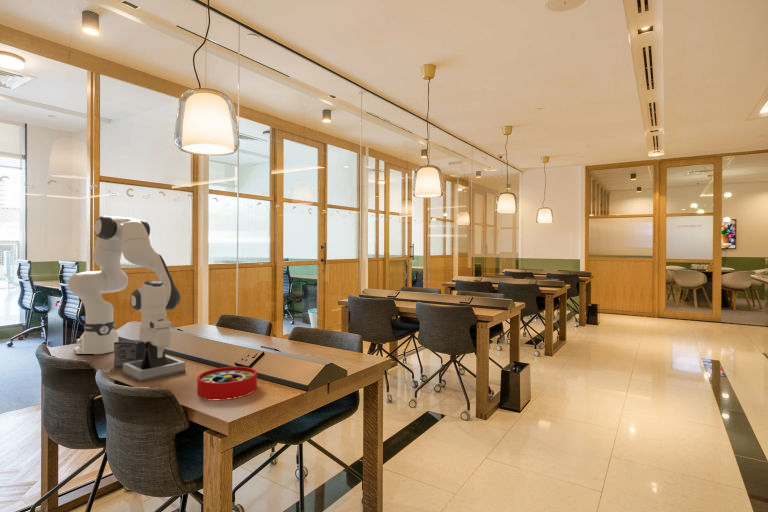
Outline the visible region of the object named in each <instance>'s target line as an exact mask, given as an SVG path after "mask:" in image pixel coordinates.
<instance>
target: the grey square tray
mask: <svg viewBox="0 0 768 512" xmlns="http://www.w3.org/2000/svg"><path fill="white" fill-rule="evenodd" d="M165 358H166V362H167V365H164V366H160V367H155V368H150V369H145V370H142V369H141V365H142V360H138V361H133V362H128V363H123V367H122V374H123V373H124V375H125V374H126V375H125V376H127V375H128V376H127V377H129V376H130V377H129V378H131V377H132V378H131V379H133V378H134V379H133V380H135V379H136V381H137V380H138V381H137V382H139V381H140V382H139V383H142V382H141V381H143V382H147V381H146V380H148V381H152V380H156V379H160V377H161V378H164V376H165V377H169V376H173V375H172V374H174V375H177V374H176V373H178V374H181V373H180V372H182V373H185V372H186V361H184V360H181V359H178V358H175V357H172V356H171V355H167V354H165ZM184 371H185V372H184ZM168 375H169V376H168ZM155 378H156V379H155ZM151 379H152V380H151Z"/></svg>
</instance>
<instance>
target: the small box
mask: <svg viewBox="0 0 768 512" xmlns="http://www.w3.org/2000/svg"><path fill="white" fill-rule="evenodd" d="M144 351H145V342H142V341H140V339H122V340H118V342H114V351H113V352H114V355H113V356H114V359H113V360H114V361H113V362H114V363H113V367H115V368H123V363H128V362H133V361H138V360H143V356H144Z"/></svg>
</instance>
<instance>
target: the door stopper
mask: <svg viewBox="0 0 768 512" xmlns="http://www.w3.org/2000/svg"><path fill="white" fill-rule="evenodd" d="M157 351H158V349H157V347H156V346H154V345H151V342H149V341H148V342H145V351H144V356H143V360H142V365H141V369H142V370H145V369H150V368H155V367H160V366H164V365H167V362H166V358H165V355H166V354H165V353H166V352H165V350H164V351H163V356H162V357H160V358H158V357H156V353H157Z"/></svg>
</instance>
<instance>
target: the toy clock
mask: <svg viewBox="0 0 768 512" xmlns="http://www.w3.org/2000/svg"><path fill="white" fill-rule="evenodd" d="M257 374H258V371H257V370H256V369H254V368H251V367H247V366H226V367H225V366H224V367H223V366H222V367H218V368H212V369H210V370H206V371H203V372H202V373H199V375H197V379H196V380H197V381H196V383H197V384H196V386H197V388H196V389H197V390H196V391H197V392H196V394H198V395H197V397H199V396H200V397H202V398H201V399H203V398H206V399H205V400H207V399H227V398H234V397H239V396H243V395H246V394H248V393H250V392H252V391H254V390H255V389H256V388H258V375H257ZM256 390H257V389H256ZM256 390H255V391H256ZM255 391H254V392H255ZM200 397H199V398H200Z"/></svg>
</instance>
